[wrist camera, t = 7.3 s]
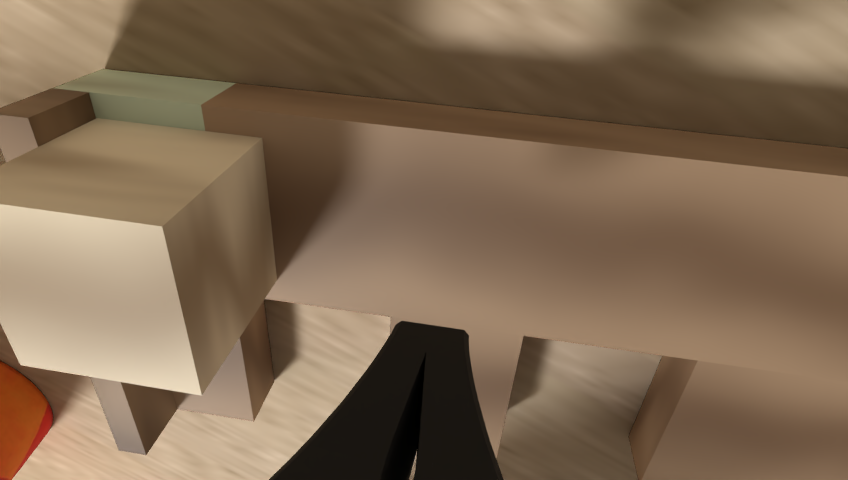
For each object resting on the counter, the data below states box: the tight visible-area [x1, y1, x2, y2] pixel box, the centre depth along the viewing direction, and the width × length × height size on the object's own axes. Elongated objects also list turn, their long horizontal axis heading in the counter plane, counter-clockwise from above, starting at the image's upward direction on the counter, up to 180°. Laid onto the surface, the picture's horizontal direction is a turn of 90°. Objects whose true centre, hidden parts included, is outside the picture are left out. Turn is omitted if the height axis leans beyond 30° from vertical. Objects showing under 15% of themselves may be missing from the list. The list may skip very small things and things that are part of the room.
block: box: [0, 118, 277, 396], centre depth 13 cm, size 4×4×4 cm
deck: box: [0, 69, 848, 480], centre depth 16 cm, size 12×24×4 cm, turn 86°
